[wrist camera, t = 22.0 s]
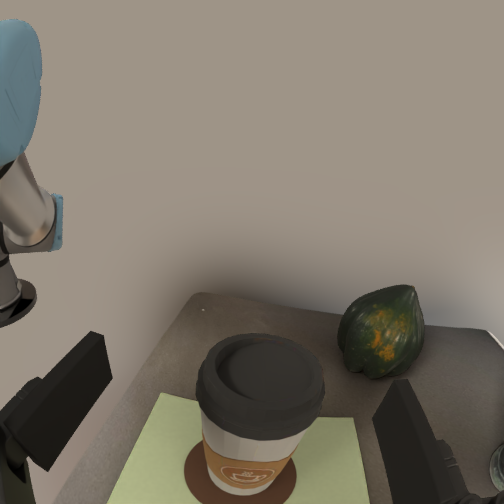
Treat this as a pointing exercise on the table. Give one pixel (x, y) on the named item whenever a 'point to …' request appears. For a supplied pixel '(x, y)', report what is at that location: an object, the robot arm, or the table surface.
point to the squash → (382, 332)
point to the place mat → (216, 500)
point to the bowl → (498, 468)
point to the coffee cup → (256, 408)
